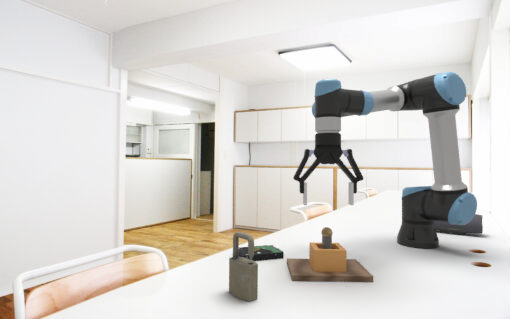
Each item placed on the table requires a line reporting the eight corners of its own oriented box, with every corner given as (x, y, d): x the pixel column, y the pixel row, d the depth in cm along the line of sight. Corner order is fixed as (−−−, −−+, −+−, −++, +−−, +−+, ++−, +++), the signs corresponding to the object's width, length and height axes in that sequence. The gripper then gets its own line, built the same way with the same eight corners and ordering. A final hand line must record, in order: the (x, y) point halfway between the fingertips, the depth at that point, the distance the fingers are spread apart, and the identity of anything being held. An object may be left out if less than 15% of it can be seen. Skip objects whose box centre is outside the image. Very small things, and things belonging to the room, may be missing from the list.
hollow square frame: (338, 262, 104) (338, 242, 104) (346, 271, 95) (346, 250, 95) (309, 261, 104) (309, 242, 104) (314, 271, 95) (314, 250, 95)
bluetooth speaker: (481, 234, 155) (482, 212, 155) (482, 238, 147) (482, 215, 147) (426, 228, 167) (426, 208, 167) (424, 231, 159) (424, 210, 159)
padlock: (246, 302, 77) (247, 236, 77) (226, 291, 83) (227, 231, 83) (260, 298, 79) (260, 234, 79) (238, 288, 86) (239, 229, 86)
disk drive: (242, 264, 107) (284, 259, 113) (242, 256, 107) (284, 251, 113) (232, 255, 117) (271, 251, 122) (232, 247, 117) (271, 243, 122)
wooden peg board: (355, 264, 107) (356, 222, 107) (373, 282, 91) (373, 233, 91) (286, 263, 107) (287, 222, 107) (292, 280, 91) (292, 232, 91)
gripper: (366, 133, 103) (366, 202, 103) (284, 133, 103) (284, 202, 103) (374, 131, 96) (374, 206, 96) (286, 131, 96) (287, 206, 96)
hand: (328, 204), depth 99 cm, fingers open, 13 cm apart
